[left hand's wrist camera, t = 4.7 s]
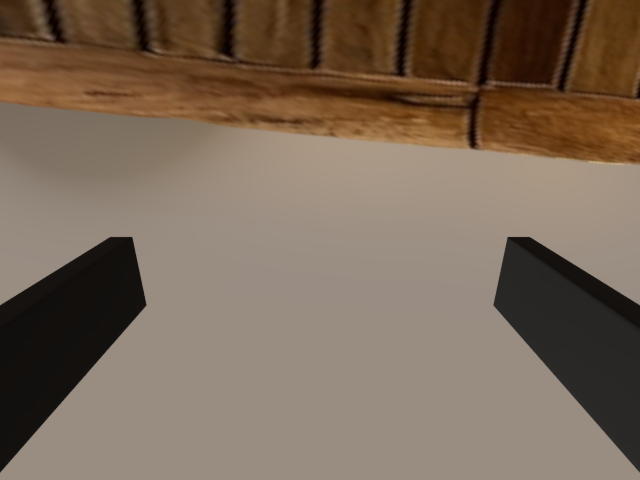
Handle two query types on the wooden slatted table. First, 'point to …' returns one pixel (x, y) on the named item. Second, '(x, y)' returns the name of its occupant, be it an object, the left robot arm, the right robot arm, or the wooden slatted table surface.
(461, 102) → the wooden slatted table surface
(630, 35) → the wooden slatted table surface
